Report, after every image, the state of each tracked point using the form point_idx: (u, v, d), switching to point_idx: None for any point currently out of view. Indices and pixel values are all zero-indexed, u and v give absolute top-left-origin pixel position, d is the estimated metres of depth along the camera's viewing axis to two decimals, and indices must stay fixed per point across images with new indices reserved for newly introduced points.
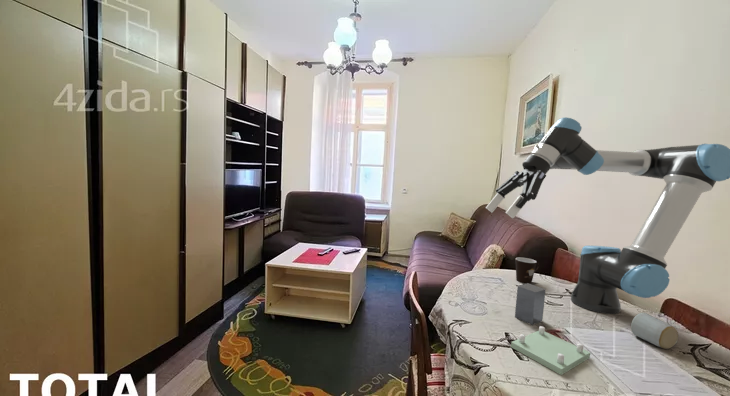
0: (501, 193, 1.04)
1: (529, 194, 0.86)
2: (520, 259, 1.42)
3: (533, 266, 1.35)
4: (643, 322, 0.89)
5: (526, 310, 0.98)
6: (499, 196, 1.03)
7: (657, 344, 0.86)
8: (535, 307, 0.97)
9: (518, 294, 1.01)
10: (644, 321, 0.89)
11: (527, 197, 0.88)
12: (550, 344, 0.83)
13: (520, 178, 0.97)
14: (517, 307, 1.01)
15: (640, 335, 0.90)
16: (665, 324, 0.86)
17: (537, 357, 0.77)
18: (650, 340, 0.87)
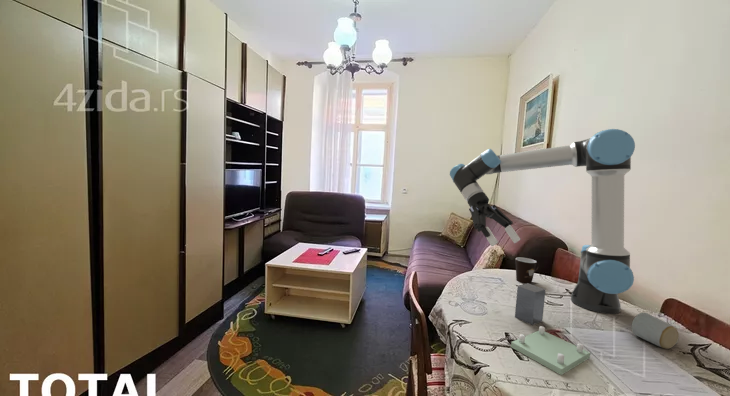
0: (506, 225, 1.15)
1: (475, 227, 1.07)
2: (520, 259, 1.42)
3: (533, 266, 1.35)
4: (644, 322, 0.89)
5: (526, 310, 0.98)
6: (507, 228, 1.14)
7: (658, 344, 0.86)
8: (535, 307, 0.97)
9: (518, 294, 1.01)
10: (645, 321, 0.89)
11: (479, 228, 1.07)
12: (550, 344, 0.83)
13: None
14: (517, 307, 1.01)
15: (640, 335, 0.90)
16: (666, 324, 0.86)
17: (537, 357, 0.77)
18: (651, 340, 0.88)
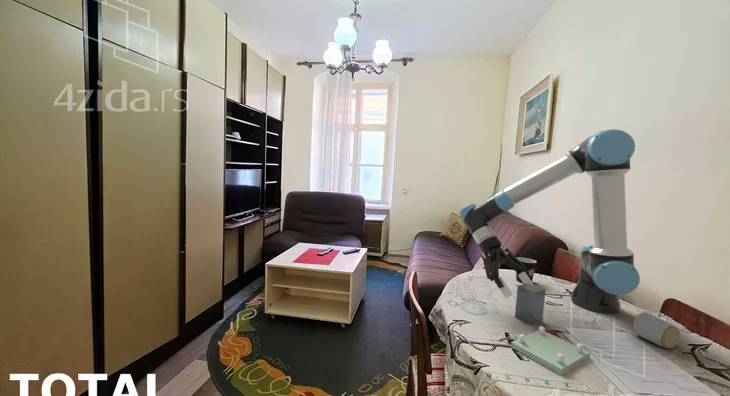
0: (520, 271, 1.10)
1: (488, 277, 1.02)
2: (520, 259, 1.42)
3: (533, 266, 1.35)
4: (645, 322, 0.90)
5: (526, 310, 0.98)
6: (521, 275, 1.09)
7: (659, 344, 0.86)
8: (535, 307, 0.97)
9: (518, 294, 1.01)
10: (646, 321, 0.90)
11: (492, 278, 1.02)
12: (550, 344, 0.83)
13: None
14: (517, 307, 1.01)
15: (642, 334, 0.90)
16: (667, 324, 0.86)
17: (537, 357, 0.77)
18: (652, 340, 0.88)
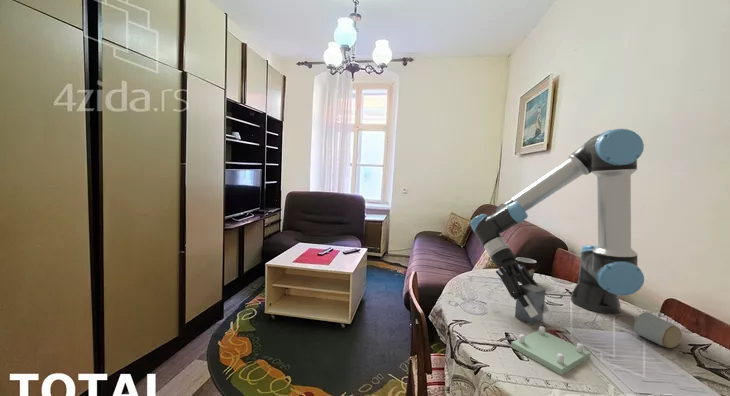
0: None
1: (512, 296, 0.99)
2: (520, 259, 1.42)
3: (533, 266, 1.35)
4: (646, 322, 0.90)
5: None
6: None
7: (661, 343, 0.86)
8: (535, 307, 0.97)
9: None
10: (647, 321, 0.90)
11: (517, 296, 0.98)
12: (550, 344, 0.83)
13: None
14: (517, 307, 1.01)
15: (643, 334, 0.90)
16: (669, 324, 0.87)
17: (537, 357, 0.77)
18: (654, 339, 0.88)
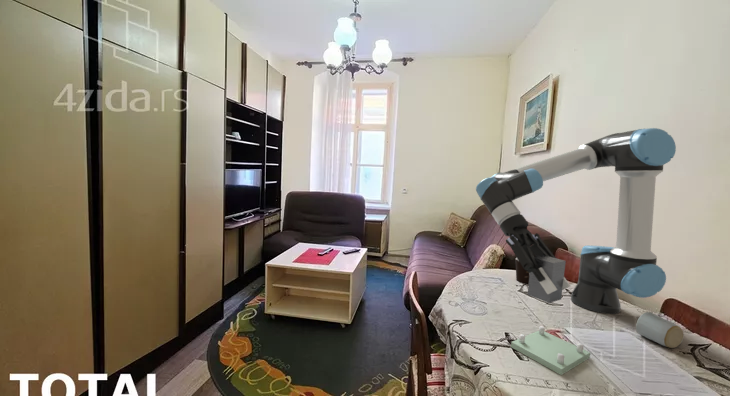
0: None
1: (525, 268, 0.82)
2: None
3: None
4: (648, 321, 0.90)
5: None
6: None
7: (662, 343, 0.87)
8: (553, 281, 0.80)
9: None
10: (649, 320, 0.90)
11: (530, 269, 0.82)
12: (550, 344, 0.83)
13: None
14: (530, 282, 0.84)
15: (645, 334, 0.91)
16: (670, 323, 0.87)
17: (537, 357, 0.77)
18: (655, 339, 0.88)
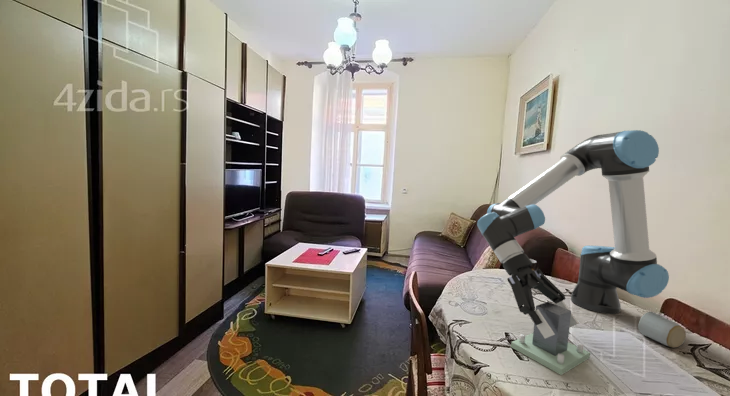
0: (556, 300, 0.86)
1: (521, 310, 0.79)
2: None
3: (533, 266, 1.35)
4: (651, 321, 0.90)
5: None
6: (558, 305, 0.85)
7: (665, 343, 0.87)
8: (559, 333, 0.77)
9: None
10: (652, 320, 0.90)
11: (527, 311, 0.78)
12: None
13: None
14: (535, 332, 0.82)
15: (647, 334, 0.91)
16: (673, 323, 0.87)
17: (537, 357, 0.77)
18: (658, 339, 0.88)
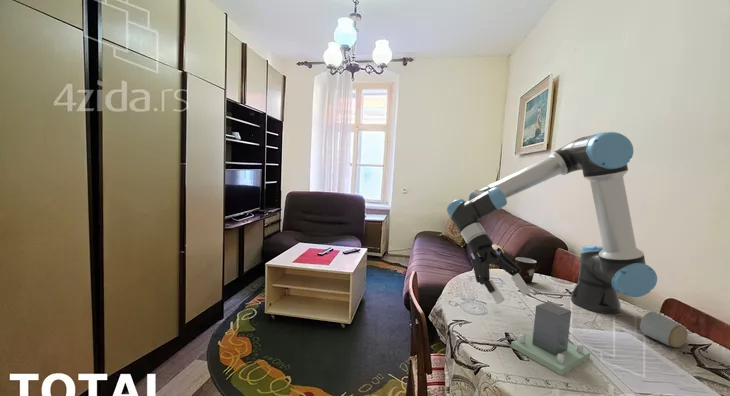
0: (513, 273, 0.99)
1: (477, 281, 0.90)
2: (520, 259, 1.42)
3: (533, 266, 1.35)
4: (652, 321, 0.90)
5: (547, 336, 0.79)
6: (514, 277, 0.98)
7: (666, 343, 0.87)
8: (559, 333, 0.77)
9: (537, 316, 0.81)
10: (653, 320, 0.90)
11: (482, 281, 0.90)
12: None
13: None
14: (535, 332, 0.82)
15: (649, 334, 0.91)
16: (674, 323, 0.87)
17: (537, 357, 0.77)
18: (659, 339, 0.88)
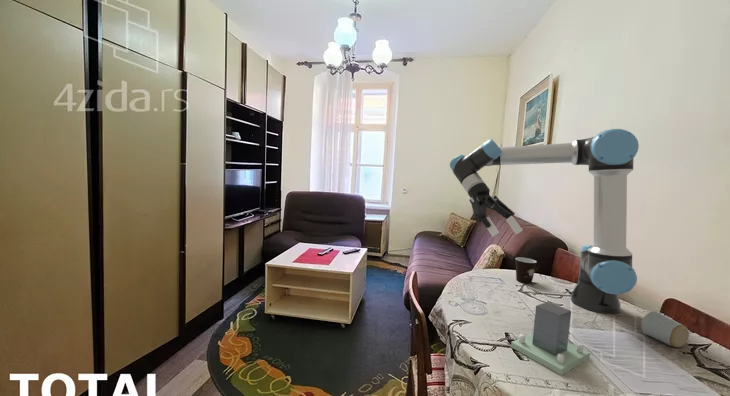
0: (507, 216, 1.13)
1: (476, 218, 1.04)
2: (520, 259, 1.42)
3: (533, 266, 1.35)
4: (654, 321, 0.90)
5: (547, 336, 0.79)
6: (508, 219, 1.12)
7: (668, 343, 0.87)
8: (559, 333, 0.77)
9: (537, 316, 0.81)
10: (655, 320, 0.90)
11: (480, 218, 1.04)
12: None
13: None
14: (535, 332, 0.82)
15: (650, 333, 0.91)
16: (676, 323, 0.87)
17: (537, 357, 0.77)
18: (661, 339, 0.89)
